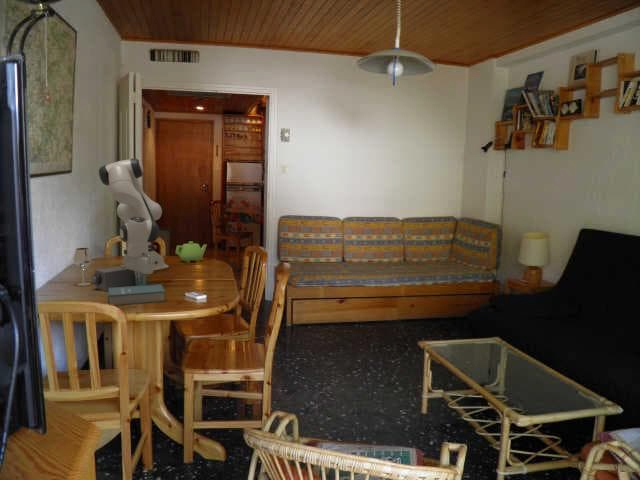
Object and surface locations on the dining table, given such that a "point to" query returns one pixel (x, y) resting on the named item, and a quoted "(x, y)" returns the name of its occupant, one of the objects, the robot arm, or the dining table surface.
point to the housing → (113, 278)
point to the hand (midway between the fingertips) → (139, 280)
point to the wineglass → (82, 261)
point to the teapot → (191, 252)
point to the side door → (143, 282)
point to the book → (136, 294)
